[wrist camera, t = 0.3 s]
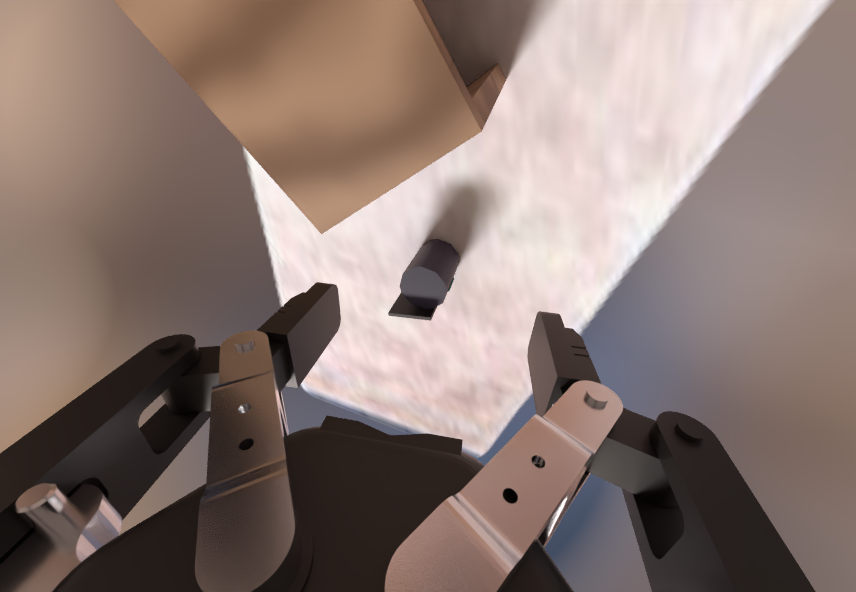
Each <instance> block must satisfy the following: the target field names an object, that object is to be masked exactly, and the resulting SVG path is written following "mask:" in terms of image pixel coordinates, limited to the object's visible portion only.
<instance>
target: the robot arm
mask: <svg viewBox="0 0 856 592" xmlns="http://www.w3.org/2000/svg"><path fill="white" fill-rule="evenodd" d="M340 320H341V316H340V306H339V295H338V288H337V286H336V285H334V284H327V283H319V282H317V283H315V284H314V285H313V286H312V287H311V288H310V289H309V290H308V291H307V292H306V293H304V292H303V293H301V294H299V295H297V296H295V297H293V298H291V299H290V300H289V301H288V302H287V303H286V304H285V305H284V307H281V308H280V309H279V310H278V312H277V313H275V314H274V315H273V316H272V317H271V318H270V319H269V320H267V321H266V322H265V323H264V324H263V325H262V326H261V327H260V328H259V329H258V330H257V331H245V332H240V333H238V334H235V335H233V336H231V337H229V338H228V339H226V340H225V341H224V342H223V343H222V344H221V346H213V347H198V346H197V343H196V341H195V339H194V338H193V337H192V336H190V335H185V334H184V335H183V334H180V335H172V336H168V337H164V338H161V339H159V340H157V341H155V342H153V343H151V344H150V345H148V346H147V347H145V348H144V349H143V350H141V351H140V352H139V353H137V354H136V355H134V356H133V357H132V358H130V359H129V360H128V361H126V362H125V363H124V364H122V365H121V366H119V367H118V368H117V369H115V370H114V371H112V372H111V373H110V374H108V375H107V376H106V377H104V378H103V379H102V380H100V381H99V382H97V383H96V384H95V385H93V386H92V387H91V388H89V389H88V390H86V391H85V392H84V393H83V394H81V395H80V396H78V397H77V398H76V399H74V400H73V401H71V402H70V403H69V404H67V405H66V406H65V407H63V408H62V409H60V410H59V411H58V412H57V413H55V414H54V415H52V416H51V417H50V418H48V419H47V420H45V421H44V422H43V423H41V424H40V425H39V426H37V427H36V428H34V429H33V430H32V431H30V432H29V433H28V434H26V435H25V436H23V437H22V438H21V439H19V440H18V441H17V442H15V443H14V444H13V445H11V446H10V447H8V448H7V449H6V450H5V451H3V452H2V453H0V592H574V591H573V590H572V588H571V587H570V585H569V584H568V583H567V581H566V579H565V578H564V577H563V575H562V574H561V572H560V571H559V569H558V568H557V566H556V565H555V563H554V562H553V560H552V559H551V557H550V556H549V555H548V553H547V551H546V550H545V548H544V547H545V546H546V544H547V543H548V541H549V540H550V538H551V536H552V535H553V533H554V531H555V529H556V528H557V526H558V524H559V522H560V521H561V519H562V517H563V516H564V514H565V512H566V511H567V509H568V507H569V506H570V505H571V503H572V501H573V500H574V498H575V497H576V495H577V494H578V492H579V490H580V489H581V487H582V486H583V484H584V483H585V481H586V480H587V478H588V476H589V475H590V473H591V474H593V475H596V476H597V477H600V478H602V479H604V480H606V481H608V482H610V483H613V484H614V485H617V486H619V487H621V488H622V491H623V494H624V498H625V501H626V505H627V508H628V511H629V515H630V518H631V521H632V525H633V528H634V531H635V535H636V538H637V542H638V545H639V548H640V552H641V555H642V559H643V562H644V565H645V569H646V572H647V575H648V579H649V582H650V586H651V589H652V592H815V590H814V589H813V587H812V586H811V584H810V582H809V581H808V579H807V578H806V576H805V575H804V573H803V571H802V570H801V568H800V567H799V565H798V563H797V562H796V560H795V559H794V557H793V556H792V554H791V553H790V551H789V549H788V548H787V546H786V545H785V543H784V542H783V540H782V538H781V537H780V535H779V534H778V532H777V531H776V529H775V527H774V526H773V524H772V523H771V521H770V520H769V518H768V516H767V515H766V514H765V512H764V510H763V509H762V507H761V506H760V504H759V502H758V501H757V499H756V498H755V496H754V495H753V493H752V492H751V490H750V488H749V487H748V485H747V484H746V482H745V481H744V479H743V477H742V476H741V474H740V473H739V471H738V470H737V468H736V466H735V465H734V463H733V462H732V460H731V459H730V457H729V455H728V454H727V452H726V451H725V449H724V448H723V446H722V444H721V443H720V441H719V440H718V438H717V437H716V436H715V435H714V433H713V432H712V431H711V430H710V429H708V428H707V427H706V426H705V425H703V424H702V423H700V422H699V421H697V420H696V419H694V418H692V417H690V416H687V415H685V414H681V413H678V412H672V411H671V412H670V411H667V412H663V413H661V414H660V415H659V416H658V418H657V419H656V421H655V420H652V419H650V418H647V417H644V416H642V415H639V414H637V413H634V412H632V411H629V410H627V409H625V408H623V404H622V402H621V400H620V399H619V397H618V396H617V395H616V394H615V393H614V392H613V391H612V390H610V389H609V388H607V387H606V386H604V385H602V384H601V382H600V380H599V377H598V375H597V372H596V370H595V368H594V365H593V363H592V361H591V358H589V354H588V351H587V350H586V346H585V344H584V341H583V339H582V338H581V336H580V335H579V334H577V333H576V332H575V331H574V330H573V329H570V328H565V327H564V324H563V321H562V319H561V316H560V314H556V313H548V312H540V311H539V312H538V313H537V316H536V319H535V323H534V327H533V331H532V335H531V338H530V342H529V347H528V364H529V370H530V376H531V383H532V389H533V395H534V401H535V407H536V415H535V416H533V417H532V418H531V419H530V420H529V421H528V422H527V423H526V424H525V425H524V426H523V427H522V428H521V429H520V431H519V432H518V433H517V434H516V435H515V436H514V437H513V438H512V439H511V440H510V441H509V442H508V443H507V444H506V445H505V446H504V447H503V448H502V449H501V450H500V451H499V452H498V453H497V454H496V455H495V456H494V457H493V458H492V459H491V460H490V461H489V462H488V464H487V465H486V466H484V465H483V464H482V463H480V462H479V461H478V460H477V459H475V458H474V457H472V456H470V455H468V454H466V453H464V452H462V451H461V450H462V440H461V439H455V438H449V437H444V436H438V435H433V434H411V435H388V434H386V433H383V432H381V431H379V430H377V429H375V428H372V427H370V426H368V425H366V424H364V423H361V422H359V421H354V420H348V419H342V418H337V417H331V416H326V418H325V420H324V421H323V423H322V425H321V426H319V427H312V428H307V429H303V430H300V431H297V432H294V433H292V434H289V431H288V425H287V420H286V414H285V409H284V403H283V398H282V393H281V391H282V389H283V388H284V387H285V386H289V387H295V388H298V387H299V386H300V384H301V383H302V381H303V380H304V378H305V377H306V376H307V374H308V373H309V371H310V370H311V368H312V367H313V365H314V364H315V363H316V361H317V360H318V358H319V357H320V355H321V354H322V353H323V351H324V350H325V348H326V347H327V345H328V344H329V343H330V341H331V340H332V338H333V337H334V335H335V334H336V333H337V331H338V329H339V326H340ZM160 395H162V397H163V399H164V401H165V405H163V406H162V407H161V408H160V409H159V410H158V411H157V412H156V413H155V414H154V415H153V416H152V417H151V418H150V419H149V420H148V421H147V422H146V423H145V424H143V426H142V427H140V428H139V426H138V421H139V417H140V415H141V414H142V412H143V411H144V409H146V407H148V406H149V405H150V404H151V403H152V402H153V401H154V400H155V399H156V398H157V397H158V396H160ZM209 417H210V427H209V444H208V459H207V476H206V484H205V485H203V486H201V487H199V488H198V489H196V490H194V491H193V492H191V493H189V494H188V495H186V496H184V497H183V498H181V499H179V500H178V501H176V502H174V503H173V504H171V505H169V506H168V507H166V508H164V509H163V510H161V511H159V512H158V513H156V514H154V515H153V516H151V517H149V518H147V519H146V520H144V521H142V522H141V523H139V524H137V525H136V526H134V527H133V528H131V529H129V530H128V531H126V532H124V533H123V534H121V535H119V533H120V530H121V527H122V520H123V519H124V518H125V517H126V515H127V514H128V513H129V512H130V511H131V510H132V509H133V507H134V506H135V505H136V504H137V503H138V501H139V500H140V499H141V498H142V497H143V495H144V494H145V493H146V492H147V491H148V490H149V488H150V487H151V486H152V485H153V484H154V482H155V481H156V480H157V479H158V478H159V476H160V475H161V474H162V473H163V472H164V471H165V469H166V468H167V467H168V466H169V465H170V463H171V462H172V461H173V460H174V459H175V457H176V456H177V455H178V454H179V453H180V452H181V450H182V449H183V448H184V447H185V446H186V444H187V443H188V442H189V441H190V440H191V439H192V437H193V436H194V435H195V434H196V433H197V431H198V430H199V429H200V428H201V427H202V425H203V424H204V423H205V422H206V421H207V420H208V418H209ZM118 535H119V536H118Z"/></svg>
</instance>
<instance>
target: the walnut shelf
mask: <svg viewBox="0 0 856 592" xmlns="http://www.w3.org/2000/svg"><path fill="white" fill-rule="evenodd" d="M114 1H115V2H116V3H117V5H118V6H119V7H120V8H121V9H122V10H123V11H124V12H125V14H126V15H127V16H128V17H129V18H130V19H131V20H132V21H133V23H134V24H135V25H136V26H137V27H138V28H139V29H140V30H141V32H142V33H143V34H144V35H145V36H146V37H147V38H148V39H149V41H151V43H152V44H153V45H154V46H155V47H156V48H157V50H158V51H159V52H160V53H161V54H162V55H163V56H164V57H165V59H166V60H167V61H168V62H169V63H170V64H171V65H172V66H173V68H174V69H175V70H176V71H177V72H178V73H179V74H180V75H181V77H182V78H183V79H184V80H185V81H186V82H187V83H188V84H189V86H190V87H191V88H192V89H193V90H194V91H195V92H196V93H197V94H198V96H199V97H200V98H201V99H202V100H203V101H204V102H205V104H206V105H207V106H208V107H209V108H210V109H211V110H212V111H213V112H214V114H215V115H216V116H217V117H218V118H219V119H220V120H221V121H222V122H223V124H224V125H225V126H226V127H227V128H228V129H229V130H230V132H231V133H232V134H233V135H234V136H235V137H236V138H237V139H238V140H239V142H240V143H241V144H242V145H243V146H244V147H245V148H246V150H247V151H248V152H249V153H250V154H251V155H252V156H253V157H254V159H255V160H256V161H257V162H258V163H259V164H260V165H261V166H262V168H263V169H264V170H265V171H266V172H267V173H268V174H269V175H270V177H271V178H272V179H273V180H274V181H275V182H276V183H277V184H278V186H279V187H280V188H281V189H282V190H283V191H284V192H285V193H286V195H287V196H288V197H289V198H290V199H291V200H292V201H293V202H294V204H295V205H296V206H297V207H298V208H299V209H300V210H301V211H302V213H303V214H304V215H305V216H306V217H307V218H308V219H309V220H310V222H311V223H312V224H313V225H314V226H315V227H316V228H317V229H318V231H319V232H320V233H321V234H322V233H324V232H326V231H327V230H329V229H330V228H332V227H333V226H335V225H336V224H338V223H340V222H341V221H343V220H344V219H346V218H347V217H349V216H351V215H352V214H354V213H355V212H357V211H358V210H360V209H361V208H363V207H365V206H366V205H368V204H369V203H371V202H372V201H374V200H375V199H377V198H379V197H380V196H382V195H383V194H385V193H386V192H388V191H389V190H391V189H393V188H394V187H396V186H397V185H399V184H400V183H402V182H404V181H405V180H407V179H408V178H410V177H411V176H413V175H414V174H416V173H418V172H419V171H421V170H422V169H424V168H425V167H427V166H428V165H430V164H432V163H433V162H435V161H436V160H438V159H439V158H441V157H442V156H444V155H446V154H447V153H449V152H450V151H452V150H453V149H455V148H456V147H458V146H460V145H461V144H463V143H464V142H466V141H467V140H469V139H471V138H472V137H474V136H475V135H477V134H478V133H480V132H481V131H482V129H483V127H484V125H485V123H486V121H487V119H488V117H489V115H490V113H491V111H492V108H493V106H494V104H495V102H496V100H497V98H498V96H499V94H500V92H501V90H502V88H503V85H504V83H505V81H506V79H505V77H504V75H503V73H502V70H501V68H500V66H499V64H497V65H495V66H494V67H493V68H491V69H490V70H489V71H487V72H486V73H485V74H483V75H482V76H481V77H479V78H478V79H477V80H475V81H474V82H473V83H471V84H470V85H469V86H467V87H466V86H465V84H464V82H463V80H462V78H461V76H460V74H459V72H458V70H457V68H456V66H455V64H454V62H453V60H452V58H451V56H450V54H449V52H448V50H447V48H446V46H445V44H444V43H443V41H442V39H441V37H440V35H439V33H438V31H437V29H436V27H435V25H434V23H433V21H432V19H431V17H430V15H429V13H428V11H427V9H426V7H425V5H424V3H423V1H422V0H114Z"/></svg>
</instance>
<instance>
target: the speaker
mask: <svg viewBox="0 0 856 592" xmlns="http://www.w3.org/2000/svg"><path fill="white" fill-rule="evenodd" d="M458 263H459V255H458V253H457V252H456V251H455V249H454V248H453V247H452V245H451V244H449V243H447V242H444V241H441V240H438V239H436V240H431V241H429V242H428V243H426V244H425V245H423V246H422V247H421V248H420V250H419V251H418V253H417V254H416V255H415V257H414V258H413V260H412V261H411V263H410V264H409V266H408V267H407V269H406V270H405V272H404V273H403V275H402V279H401V283H400V289H401V294H400V295H399V297H398V299H397V300H396V302H395V303H394V305H393V306H392V308H391V309H390V311H389V313H388V314H389V316H397V317H406V318H414V319H423V320H431V319H432V317H433V314H434V312H435V310H436V308H437V306H438V305H440V304H442V303H443V301H444V299H445V296H446V294H447V292H448V291H449V290H450V288H451V285H452V283H453V280H454V278H453V277H454V274H455V272H456V269H457V266H458Z"/></svg>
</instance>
